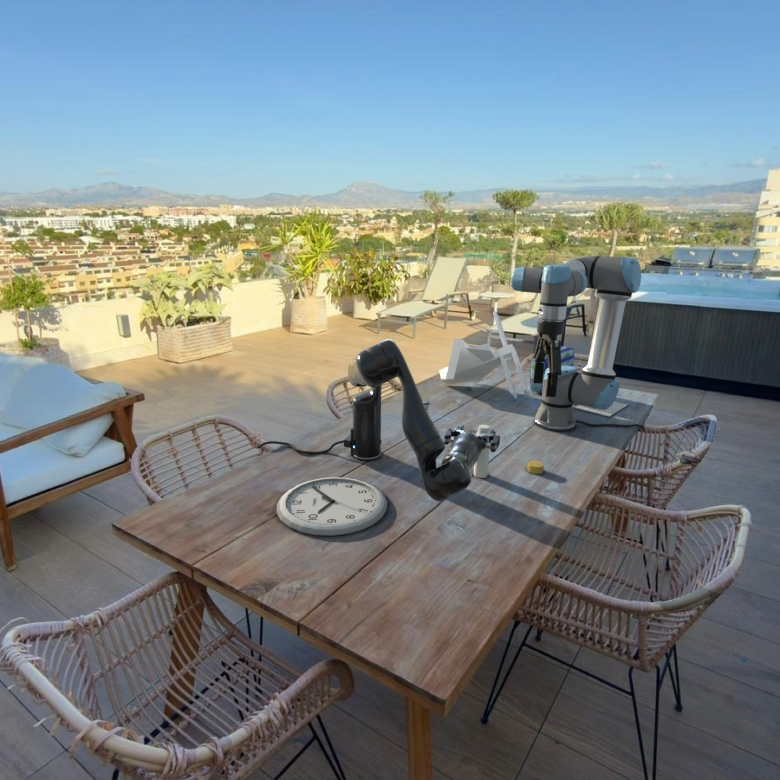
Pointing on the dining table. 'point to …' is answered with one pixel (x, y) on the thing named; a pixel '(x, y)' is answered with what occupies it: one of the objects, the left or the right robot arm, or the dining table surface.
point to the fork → (426, 400)
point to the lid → (535, 467)
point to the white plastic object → (482, 362)
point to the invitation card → (608, 412)
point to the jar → (482, 456)
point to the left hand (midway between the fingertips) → (477, 430)
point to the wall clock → (331, 506)
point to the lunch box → (566, 360)
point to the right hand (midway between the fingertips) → (543, 389)
